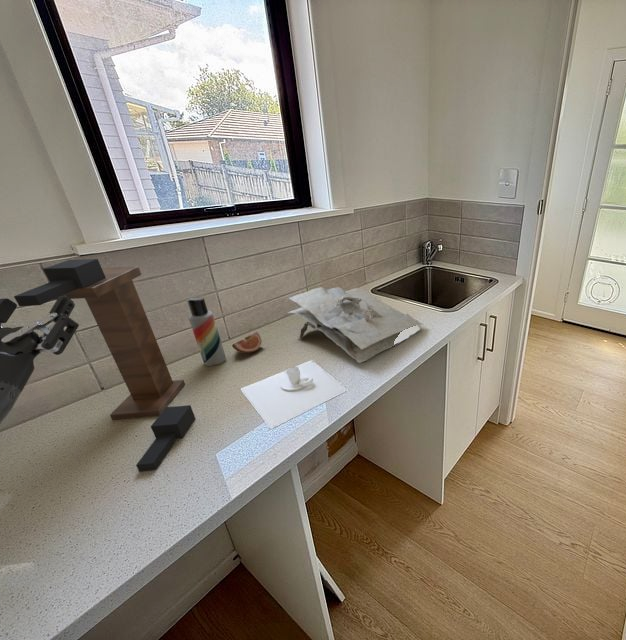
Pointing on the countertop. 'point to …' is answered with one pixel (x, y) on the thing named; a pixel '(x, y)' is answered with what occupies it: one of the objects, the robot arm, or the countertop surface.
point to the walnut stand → (130, 343)
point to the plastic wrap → (352, 319)
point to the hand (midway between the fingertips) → (38, 300)
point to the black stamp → (63, 281)
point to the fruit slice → (248, 344)
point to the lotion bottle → (206, 332)
